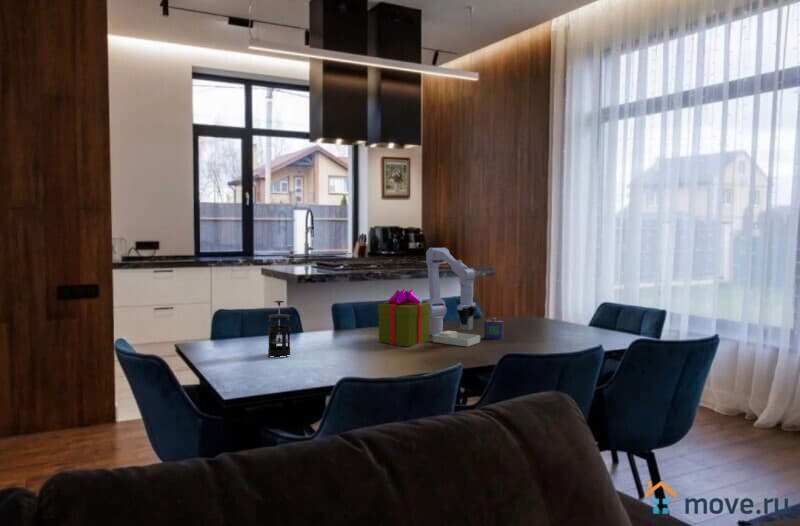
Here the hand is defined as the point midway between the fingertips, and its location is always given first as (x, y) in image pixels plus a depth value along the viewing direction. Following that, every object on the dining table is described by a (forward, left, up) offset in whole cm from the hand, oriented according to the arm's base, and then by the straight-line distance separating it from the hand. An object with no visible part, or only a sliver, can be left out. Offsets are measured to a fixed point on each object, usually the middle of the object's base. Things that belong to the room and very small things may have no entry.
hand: (466, 323), depth 268 cm
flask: (+6, +18, -10) cm, 21 cm away
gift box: (-26, -14, -10) cm, 31 cm away
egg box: (-9, -1, -9) cm, 13 cm away
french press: (-52, -69, -10) cm, 87 cm away
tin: (0, 0, -2) cm, 2 cm away
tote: (-5, -1, -9) cm, 10 cm away
